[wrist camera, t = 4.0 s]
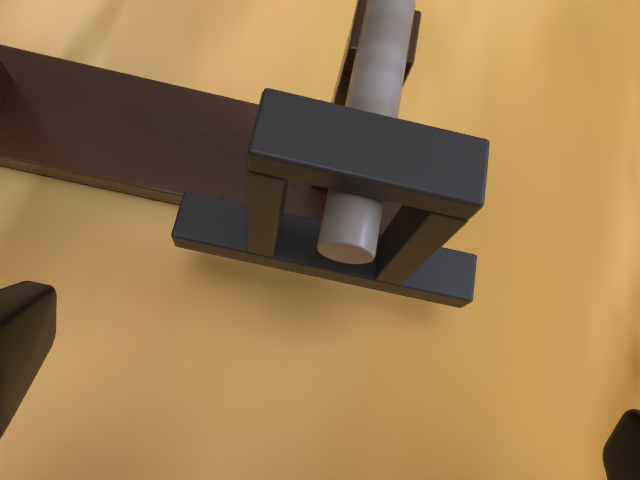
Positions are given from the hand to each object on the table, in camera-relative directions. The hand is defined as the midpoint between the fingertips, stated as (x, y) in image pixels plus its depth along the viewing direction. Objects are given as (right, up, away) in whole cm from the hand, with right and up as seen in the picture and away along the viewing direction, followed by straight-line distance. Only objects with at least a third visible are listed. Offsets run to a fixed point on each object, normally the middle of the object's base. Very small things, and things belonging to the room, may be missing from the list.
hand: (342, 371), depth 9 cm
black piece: (0, +2, +9) cm, 9 cm away
